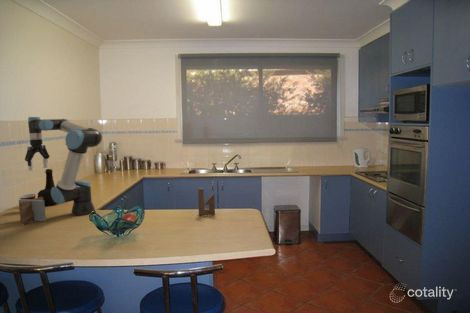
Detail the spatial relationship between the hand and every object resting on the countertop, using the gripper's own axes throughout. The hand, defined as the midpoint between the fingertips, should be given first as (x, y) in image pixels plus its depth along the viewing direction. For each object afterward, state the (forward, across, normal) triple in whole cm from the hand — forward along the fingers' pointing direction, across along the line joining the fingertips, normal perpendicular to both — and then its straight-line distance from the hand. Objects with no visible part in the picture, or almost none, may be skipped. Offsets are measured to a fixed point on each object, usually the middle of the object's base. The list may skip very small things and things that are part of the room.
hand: (38, 169), depth 251 cm
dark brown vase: (+32, -25, -14) cm, 43 cm away
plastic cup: (+32, -3, -14) cm, 35 cm away
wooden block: (+32, -13, +119) cm, 124 cm away
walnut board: (+32, +18, +9) cm, 38 cm away
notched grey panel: (+32, +18, +9) cm, 38 cm away
